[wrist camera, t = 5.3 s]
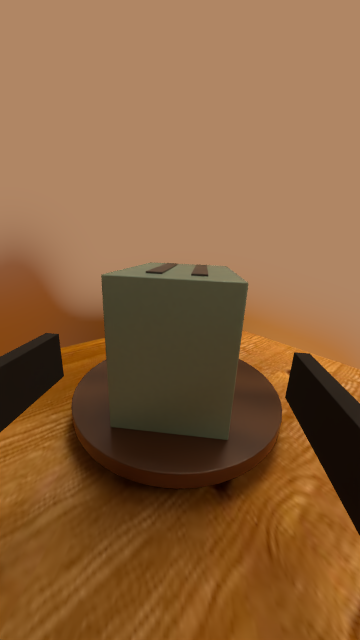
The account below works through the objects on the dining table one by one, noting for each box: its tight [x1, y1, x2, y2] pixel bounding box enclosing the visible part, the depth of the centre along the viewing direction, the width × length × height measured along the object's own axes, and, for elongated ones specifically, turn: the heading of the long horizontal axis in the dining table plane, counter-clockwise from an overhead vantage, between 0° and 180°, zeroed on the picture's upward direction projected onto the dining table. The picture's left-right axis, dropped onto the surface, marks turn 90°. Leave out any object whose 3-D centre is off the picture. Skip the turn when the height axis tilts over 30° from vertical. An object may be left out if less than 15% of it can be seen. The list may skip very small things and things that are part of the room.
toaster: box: [72, 263, 282, 489], centre depth 21 cm, size 19×19×12 cm
